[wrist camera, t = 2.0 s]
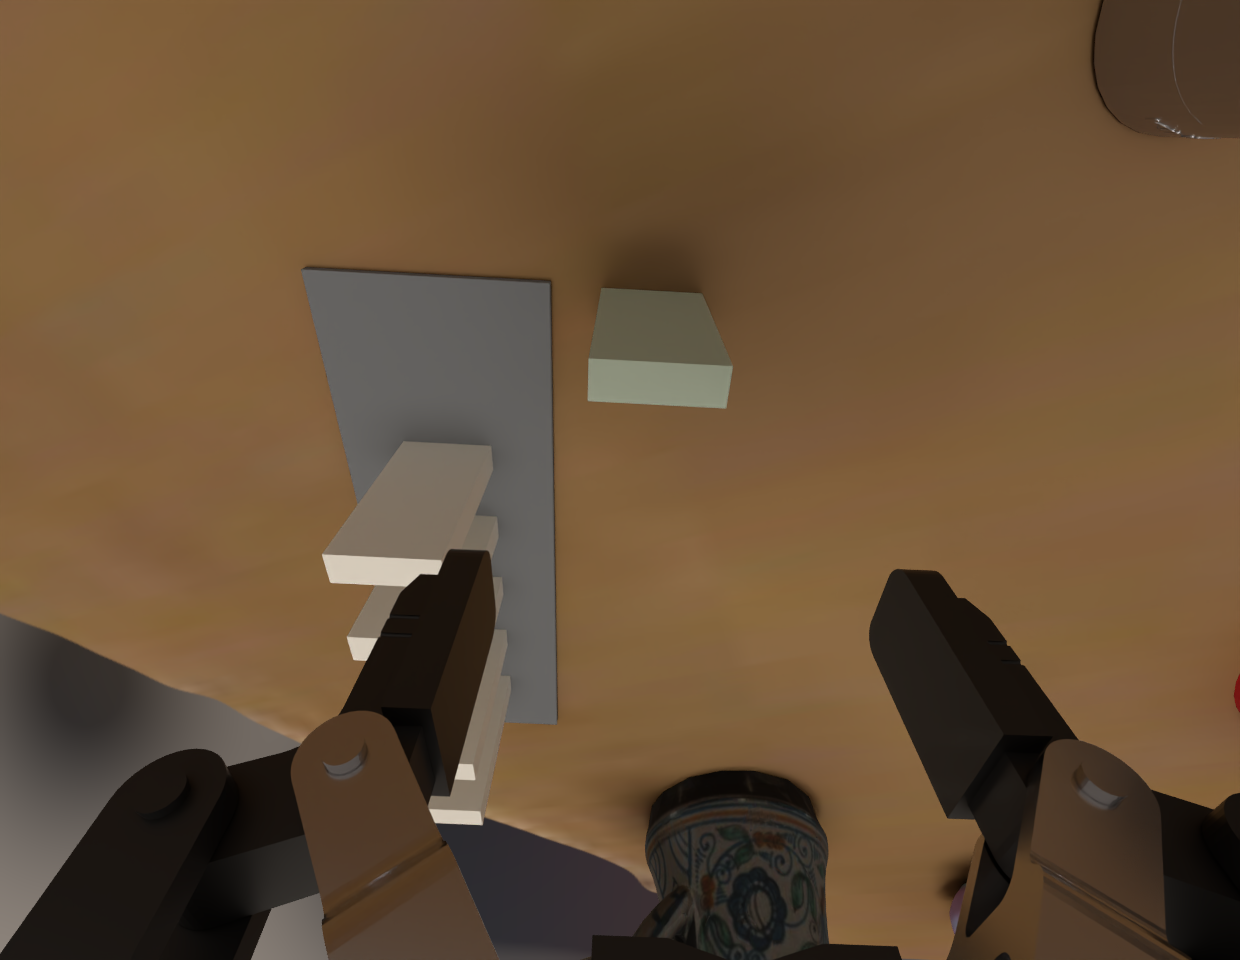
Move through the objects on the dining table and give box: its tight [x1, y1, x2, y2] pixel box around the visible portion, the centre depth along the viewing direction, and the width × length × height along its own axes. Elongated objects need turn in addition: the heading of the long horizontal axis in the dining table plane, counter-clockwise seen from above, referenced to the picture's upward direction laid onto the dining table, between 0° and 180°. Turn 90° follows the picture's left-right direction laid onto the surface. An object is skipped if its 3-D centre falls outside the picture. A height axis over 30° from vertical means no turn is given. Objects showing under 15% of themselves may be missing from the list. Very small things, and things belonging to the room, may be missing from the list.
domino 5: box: [588, 288, 733, 408], centre depth 24 cm, size 2×5×10 cm, turn 87°
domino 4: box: [428, 675, 511, 825], centre depth 39 cm, size 2×5×10 cm, turn 87°
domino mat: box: [301, 267, 558, 725], centre depth 37 cm, size 35×12×1 cm, turn 177°
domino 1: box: [322, 441, 493, 587], centre depth 28 cm, size 2×5×10 cm, turn 87°
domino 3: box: [455, 629, 508, 780], centre depth 36 cm, size 2×5×10 cm, turn 87°
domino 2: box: [347, 515, 499, 661], centre depth 31 cm, size 2×5×10 cm, turn 87°
